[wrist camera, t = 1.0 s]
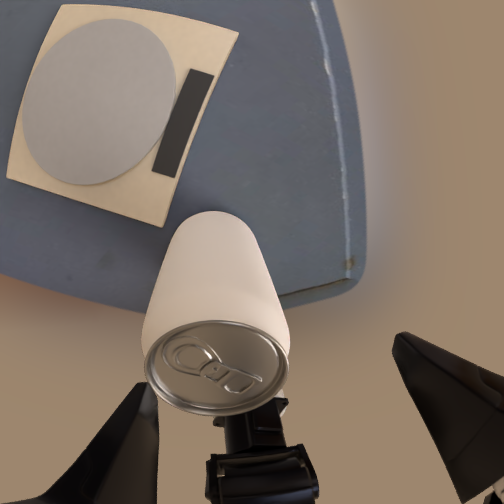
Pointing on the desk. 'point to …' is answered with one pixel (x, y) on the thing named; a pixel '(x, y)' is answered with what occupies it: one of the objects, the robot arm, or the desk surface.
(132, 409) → the robot arm
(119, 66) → the scale
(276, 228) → the desk surface
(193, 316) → the can
